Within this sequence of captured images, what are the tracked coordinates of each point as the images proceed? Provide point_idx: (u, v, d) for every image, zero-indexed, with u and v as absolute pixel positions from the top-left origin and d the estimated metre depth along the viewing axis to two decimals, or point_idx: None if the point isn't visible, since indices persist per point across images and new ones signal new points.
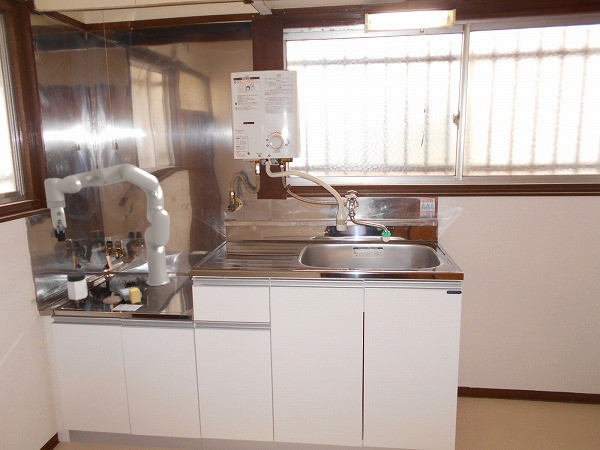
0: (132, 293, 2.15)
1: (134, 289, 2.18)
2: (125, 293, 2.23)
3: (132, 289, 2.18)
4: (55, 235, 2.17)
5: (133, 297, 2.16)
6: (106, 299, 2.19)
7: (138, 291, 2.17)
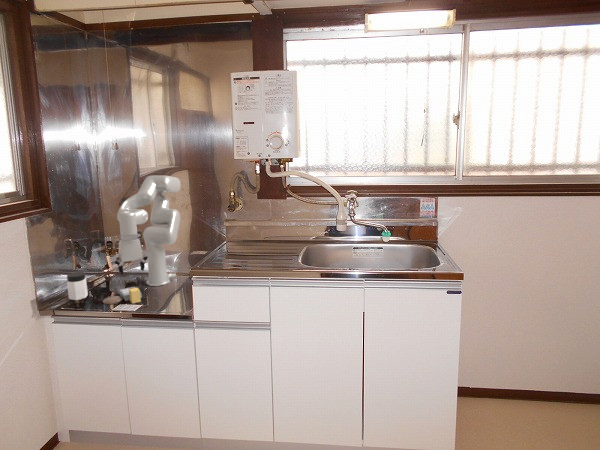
0: (132, 293, 2.15)
1: (134, 289, 2.18)
2: (125, 293, 2.23)
3: (132, 289, 2.18)
4: (122, 271, 2.12)
5: (133, 297, 2.16)
6: (106, 299, 2.19)
7: (138, 291, 2.17)
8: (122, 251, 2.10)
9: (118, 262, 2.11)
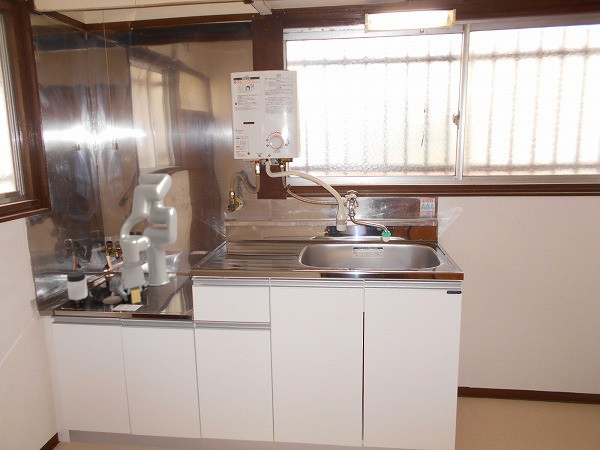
0: (132, 293, 2.15)
1: (134, 289, 2.18)
2: (125, 293, 2.23)
3: (132, 289, 2.18)
4: None
5: (133, 297, 2.16)
6: (106, 299, 2.19)
7: (138, 291, 2.17)
8: (125, 278, 2.13)
9: (125, 291, 2.15)
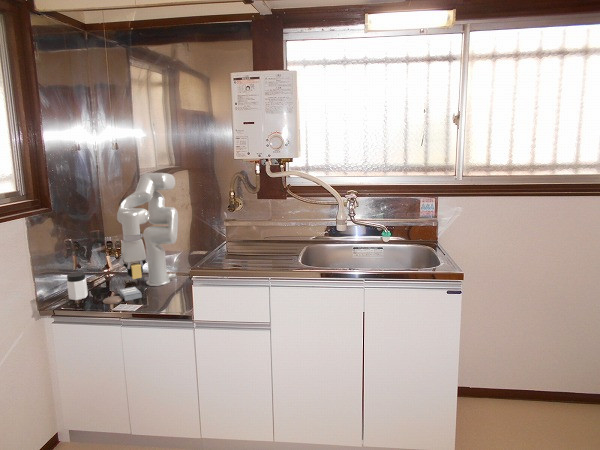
0: (133, 268, 2.07)
1: (135, 264, 2.10)
2: (125, 293, 2.23)
3: (133, 264, 2.10)
4: (131, 274, 2.09)
5: (134, 272, 2.08)
6: (106, 299, 2.19)
7: (139, 266, 2.08)
8: (125, 252, 2.05)
9: (126, 266, 2.07)
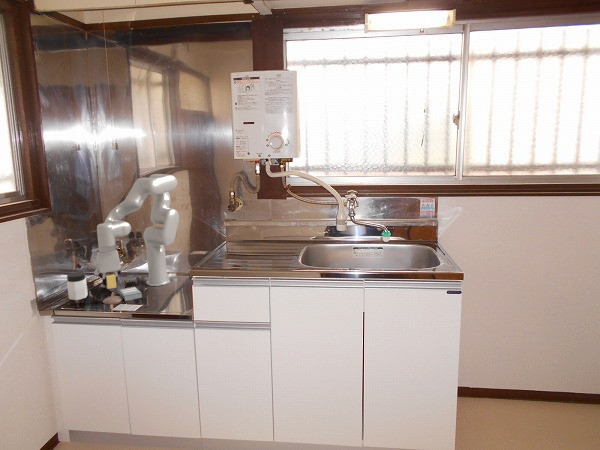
0: (107, 278, 2.14)
1: (110, 275, 2.16)
2: (125, 293, 2.23)
3: (108, 275, 2.16)
4: (106, 284, 2.15)
5: (108, 282, 2.14)
6: (106, 299, 2.19)
7: (114, 276, 2.15)
8: (100, 263, 2.11)
9: (101, 276, 2.14)
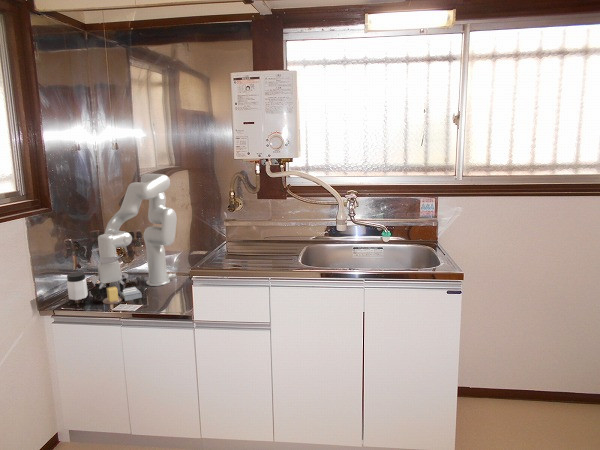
0: (110, 292, 2.15)
1: (112, 288, 2.18)
2: (125, 293, 2.23)
3: (110, 288, 2.18)
4: (103, 293, 2.15)
5: (111, 296, 2.16)
6: (106, 299, 2.19)
7: (116, 290, 2.17)
8: (101, 273, 2.13)
9: (98, 285, 2.14)
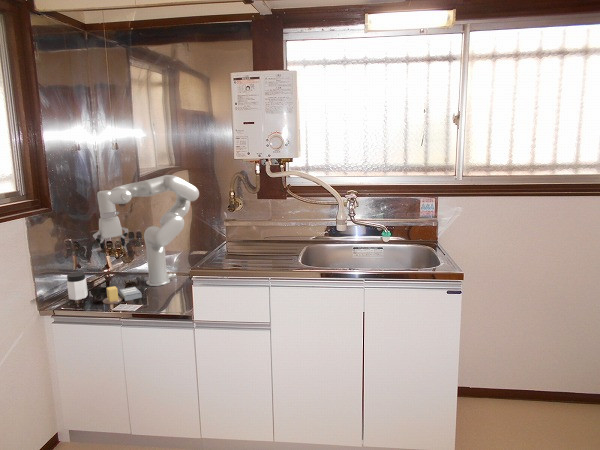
0: (110, 292, 2.15)
1: (112, 288, 2.18)
2: (125, 293, 2.23)
3: (110, 288, 2.18)
4: (104, 247, 2.23)
5: (111, 296, 2.16)
6: (106, 299, 2.19)
7: (116, 290, 2.17)
8: (102, 228, 2.20)
9: (99, 239, 2.21)
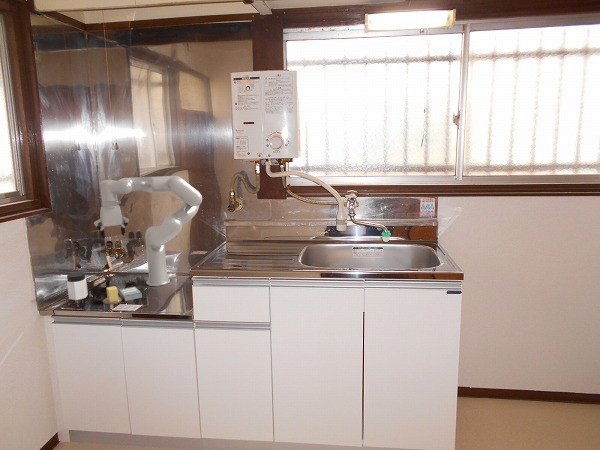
0: (110, 292, 2.15)
1: (112, 288, 2.18)
2: (125, 293, 2.23)
3: (110, 288, 2.18)
4: (104, 235, 2.29)
5: (111, 296, 2.16)
6: (106, 299, 2.19)
7: (116, 290, 2.17)
8: (103, 216, 2.27)
9: (100, 227, 2.28)
